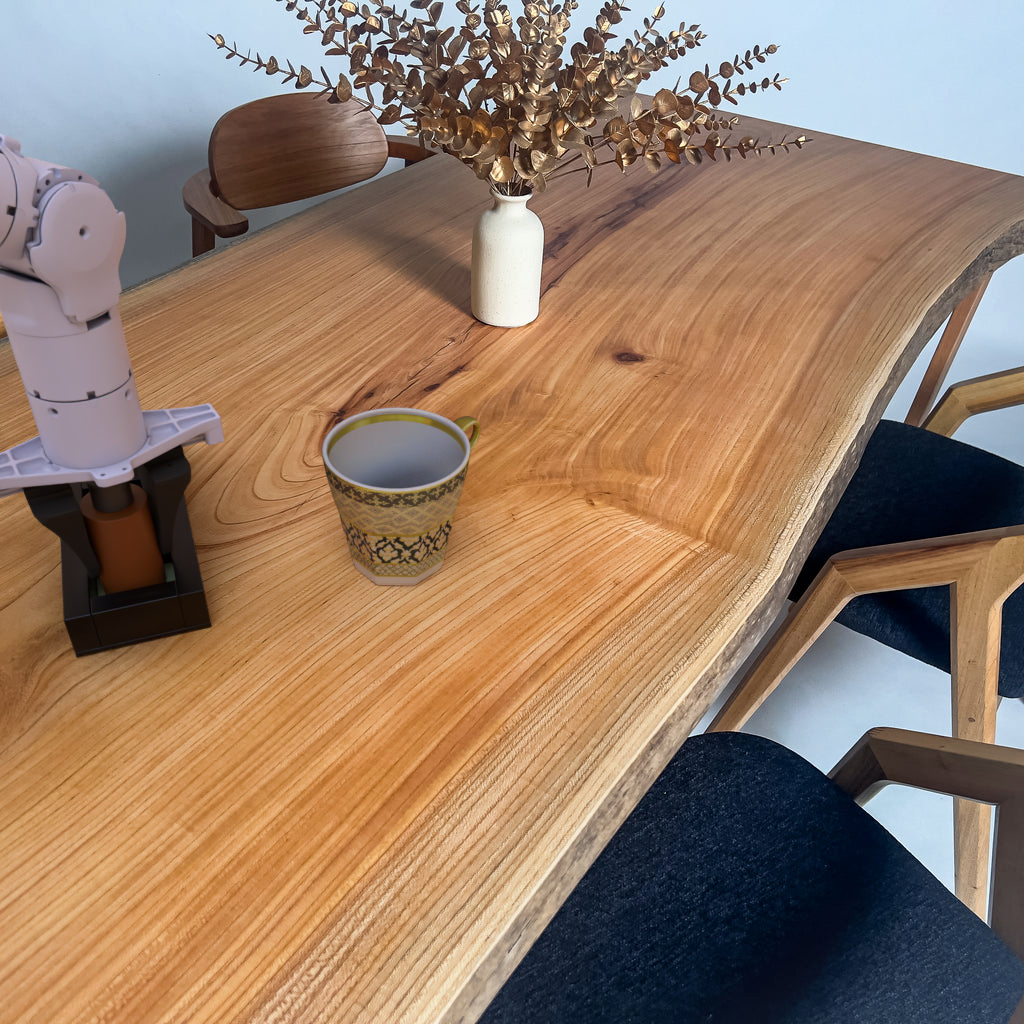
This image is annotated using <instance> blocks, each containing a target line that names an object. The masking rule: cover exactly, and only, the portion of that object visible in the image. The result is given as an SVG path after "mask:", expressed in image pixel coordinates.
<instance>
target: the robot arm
mask: <svg viewBox="0 0 1024 1024" xmlns="http://www.w3.org/2000/svg"><path fill="white" fill-rule="evenodd" d="M21 148H22V147H21V142H20V141H19V140H18V139H15V138H13V137H11V136H8V135H6V134H3V133H0V316H1V319H2V322H3V325H4V327H5V331H6V334H7V337H8V340H9V343H10V347H11V350H12V353H13V356H14V360H15V363H16V365H17V369H18V371H19V375H20V378H21V381H22V384H23V388H24V391H25V394H26V397H27V400H28V403H29V407H30V410H31V413H32V416H33V419H34V422H35V425H36V429H37V431H38V435H36V436H34V437H32V438H30V439H28V440H26V441H23V442H21V443H19V444H17V445H14V446H12V447H11V448H10V447H9V448H8V449H6V450H3V451H2V452H0V499H3V498H7V497H10V496H14V495H17V494H21V493H23V495H24V497H25V499H26V502H27V504H28V506H29V510H30V511H31V513H32V515H33V517H34V518H35V519H36V520H37V521H38V522H39V523H40V524H41V525H42V526H43V528H46V529H48V530H49V531H50V532H52V533H53V534H54V535H55V536H57V537H58V538H59V539H60V538H61V539H62V540H63V541H64V542H65V543H66V544H67V545H68V546H69V547H70V548H71V549H72V550H73V551H74V553H75V554H76V555H77V556H78V558H79V559H80V560H81V562H82V563H83V564H84V566H85V568H86V570H87V572H88V574H89V577H90V578H95V577H98V576H101V575H102V574H101V570H100V566H99V564H98V561H97V559H96V557H95V554H94V552H93V550H92V548H91V545H90V543H89V539H88V536H87V532H86V528H85V524H84V520H83V515H82V510H81V508H80V506H79V504H78V502H77V500H76V498H75V496H74V493H73V490H72V487H71V486H70V484H69V483H75V482H86V481H95V482H96V484H97V485H98V486H99V487H109V486H113V485H116V484H120V483H123V482H127V481H129V480H131V479H132V478H133V477H134V472H133V469H134V468H136V467H137V470H138V474H139V477H140V481H141V484H142V487H143V490H144V491H145V492H146V494H147V497H148V501H149V505H150V510H151V514H152V518H153V522H154V526H155V530H156V535H157V539H158V543H159V547H160V550H161V552H162V554H163V555H164V554H167V553H170V552H172V551H173V532H174V525H175V520H176V515H177V511H178V508H179V505H180V502H181V499H182V497H183V495H184V496H185V492H186V490H187V488H188V486H189V485H190V484H191V482H192V466H191V463H190V462H189V460H188V458H187V457H186V455H185V451H184V448H186V447H189V446H193V445H197V444H199V443H205V444H206V445H207V446H214V445H215V446H216V445H219V444H222V443H224V442H225V436H224V430H223V423H222V418H221V417H222V416H221V415H220V414H219V413H218V412H217V410H216V409H215V407H214V406H213V405H212V404H211V403H210V402H207V403H202V404H198V405H192V406H185V407H176V408H175V407H174V408H161V409H150V410H142V405H141V401H140V397H139V393H138V388H137V384H136V379H135V375H134V371H133V365H132V362H131V357H130V356H131V355H130V353H129V348H128V344H127V338H126V334H125V330H124V326H123V321H122V318H121V313H120V308H119V305H118V304H119V303H120V294H121V293H122V292H123V289H122V284H121V279H120V273H119V268H120V267H119V266H120V261H121V258H122V256H123V252H124V249H125V245H126V239H127V221H126V214H125V212H124V211H119V209H116V207H115V205H114V203H113V201H112V200H111V198H110V197H109V195H108V193H107V192H106V190H105V189H102V188H99V186H100V185H101V183H100V182H99V181H98V180H97V179H96V178H95V177H93V176H92V175H90V174H89V173H87V172H85V171H83V170H80V169H76V168H73V167H69V166H64V165H61V164H57V163H54V162H51V161H50V162H49V161H47V160H42V159H38V158H35V157H30V156H27V155H23V154H22V153H21Z"/></svg>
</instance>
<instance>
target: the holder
mask: <svg viewBox="0 0 1024 1024" xmlns="http://www.w3.org/2000/svg"><path fill="white" fill-rule="evenodd" d="M133 472H134V477H133V478H132V479H131V480H129V481H130V484H134V485H137V486H139V487H141V488H142V489H143V487H142V484H141V481H140V477H139V474H138V470H137V467H136V468H134V469H133ZM69 484H70V486H71V487H72V490H73V493H74V496H75V498H76V500H77V502H78V504H79V506H80V502H81V500H82V499H83V498H84V496H85V495H87V494H88V493H89V490H88V487H87V483H86V482H75V483H69ZM59 543H60V544H59V545H60V546H59V547H60V565H61V567H60V569H61V591H62V614H63V617H62V618H63V623H64V626H65V629H66V631H67V635H68V637H69V640H70V643H71V646H72V648H73V652H74V654H75V657H76V658H81V657H82V658H83V657H86V656H90V655H94V654H95V655H96V654H98V653H104V652H107V651H112V650H116V649H120V648H125V647H129V646H133V645H138V644H142V643H147V642H152V641H155V640H161V639H164V638H169V637H173V636H177V635H182V634H186V633H190V632H191V633H192V632H194V631H199V630H204V629H208V628H212V627H213V625H212V621H211V616H210V612H209V605H208V602H207V597H206V592H205V588H204V583H203V578H202V572H201V568H200V563H199V558H198V554H197V548H196V544H195V540H194V535H193V529H192V524H191V520H190V516H189V509H188V506H187V501H186V497H185V494H184V495H183V497H182V499H181V502H180V505H179V508H178V511H177V515H176V520H175V525H174V532H173V551H172V552H170V553H167V554H164V555H163V554H162V552H161V555H162V560H163V564H164V568H165V572H166V582H164V583H159V584H154V585H150V586H145V587H140V588H135V589H131V590H126V591H121V592H116V593H111V594H107V595H106V594H105V592H104V589H103V586H102V582H101V579H100V576H98V577H95V578H90V577H89V574H88V572H87V570H86V568H85V566H84V564H83V563H82V562H81V560H80V559H79V558H78V556H77V555H76V554H75V553H74V551H73V550H72V549H71V548H70V547H69V546H68V545H67V544H66V543H65V542H64V541H63V540H62V539H61V538H59ZM160 551H161V550H160Z"/></svg>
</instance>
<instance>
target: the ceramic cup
mask: <svg viewBox="0 0 1024 1024" xmlns="http://www.w3.org/2000/svg"><path fill="white" fill-rule="evenodd" d="M471 427H472V433H471V435H470V437H468V435H467V434H466V433H465V432H466V431H467V430H468V429H470V428H471ZM480 436H481V425H480V422H479V420H477V418H475V417H473V416H471V415H463V416H460V417H458V418H456V419H455V420H454V421H452V420H451V419H449V418H447V417H445V416H442V415H440V414H438V413H435V412H432V411H431V412H430V411H428V410H425V409H419V408H414V407H395V406H394V407H382V408H375V409H371V410H370V409H369V410H365V411H362V412H358V413H356V414H353V415H351V416H349V417H347V418H345V419H343V420H341V421H340V422H338V423H337V424H336V425H335V426H333V427H332V428H331V429H330V430H329V431H328V432H327V434H326V435H325V437H324V439H323V441H322V445H321V458H322V463H323V467H324V473H325V476H326V479H327V484H328V487H329V489H330V493H331V496H332V499H333V501H334V505H335V507H336V509H337V511H338V515H339V519H340V523H341V526H342V529H343V533H344V536H345V540H346V543H347V546H348V550H349V553H350V556H351V559H352V563H353V565H354V567H355V569H356V570H357V571H358V572H359V573H361V574H362V575H363V576H364V577H366V578H367V579H369V580H370V581H371V582H372V583H374V584H375V585H378V586H407V587H411V586H412V587H413V586H417V585H418V584H419V583H420V582H422V581H424V580H426V579H427V578H429V577H430V576H431V575H433V574H435V573H436V572H438V571H440V570H441V568H442V567H443V565H444V561H445V558H446V553H447V547H448V544H449V541H450V536H451V532H452V528H453V525H454V524H453V523H454V518H455V514H456V511H457V508H458V506H459V503H460V500H461V497H462V493H463V490H464V486H465V482H466V478H467V475H468V469H469V465H470V459H471V453H472V451H473V449H474V448H475V446H476V444H477V443H478V441H479V439H480Z"/></svg>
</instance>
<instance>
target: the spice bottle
mask: <svg viewBox="0 0 1024 1024" xmlns="http://www.w3.org/2000/svg"><path fill="white" fill-rule="evenodd" d="M86 483H87V487H88V490H89V493H88V494H87V495H85V496H84V498H83V499H82V500H81V502H80V508H81V510H82V515H83V520H84V524H85V528H86V532H87V536H88V539H89V543H90V545H91V548H92V550H93V552H94V554H95V557H96V559H97V561H98V564H99V566H100V570H101V574H102V575H101V576H100V579H101V582H102V586H103V589H104V592H105V594H106V595H107V594H111V593H116V592H121V591H126V590H131V589H135V588H140V587H145V586H150V585H154V584H159V583H164V582H166V572H165V568H164V564H163V560H162V555H161V551H160V547H159V543H158V539H157V535H156V530H155V526H154V522H153V518H152V514H151V510H150V505H149V501H148V497H147V494H146V492H145V491H144V490H143V489H142V488H141V487H139V486H137V485H134V484H130V481H127V482H123V483H120V484H116V485H113V486H109V487H99V486H98V485H97V484H96V482H95V481H86Z"/></svg>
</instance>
